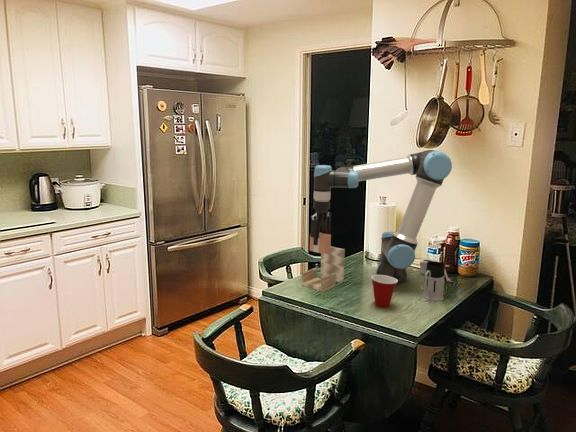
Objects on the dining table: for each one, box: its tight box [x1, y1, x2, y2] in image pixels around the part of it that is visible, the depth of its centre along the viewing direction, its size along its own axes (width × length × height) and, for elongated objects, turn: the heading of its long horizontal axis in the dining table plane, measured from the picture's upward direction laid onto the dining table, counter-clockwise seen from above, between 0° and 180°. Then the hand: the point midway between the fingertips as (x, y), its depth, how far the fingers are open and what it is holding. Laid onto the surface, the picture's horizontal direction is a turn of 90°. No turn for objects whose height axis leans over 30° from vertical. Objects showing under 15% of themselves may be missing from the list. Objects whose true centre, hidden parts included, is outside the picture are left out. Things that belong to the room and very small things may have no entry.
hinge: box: [419, 258, 452, 284], centre depth 228 cm, size 17×5×10 cm, turn 22°
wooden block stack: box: [301, 245, 346, 292], centre depth 216 cm, size 12×17×16 cm
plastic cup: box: [370, 274, 398, 309], centre depth 191 cm, size 11×11×12 cm
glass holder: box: [422, 260, 446, 301], centre depth 200 cm, size 9×14×15 cm, turn 140°
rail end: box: [309, 232, 332, 254], centre depth 211 cm, size 8×5×8 cm, turn 52°
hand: (319, 250), depth 211 cm, fingers closed on rail end, 5 cm apart
